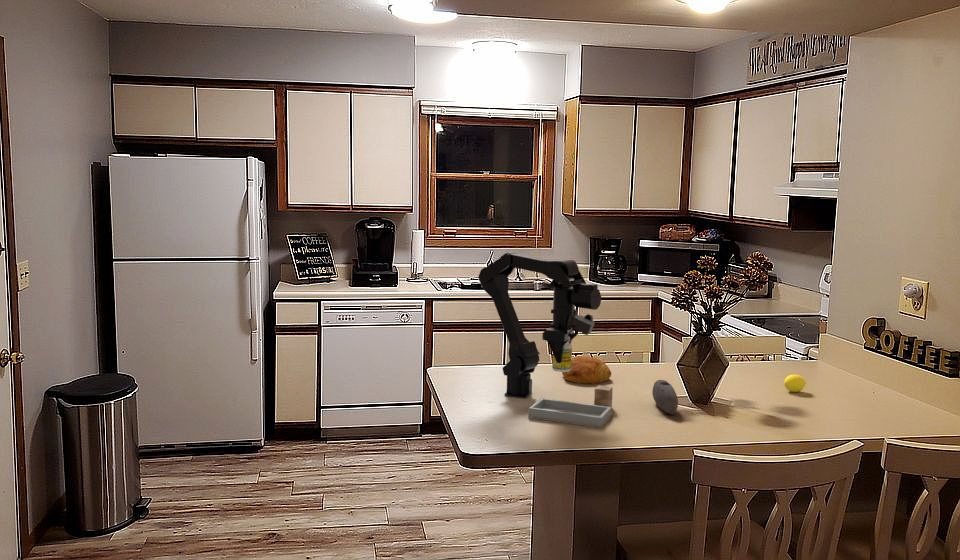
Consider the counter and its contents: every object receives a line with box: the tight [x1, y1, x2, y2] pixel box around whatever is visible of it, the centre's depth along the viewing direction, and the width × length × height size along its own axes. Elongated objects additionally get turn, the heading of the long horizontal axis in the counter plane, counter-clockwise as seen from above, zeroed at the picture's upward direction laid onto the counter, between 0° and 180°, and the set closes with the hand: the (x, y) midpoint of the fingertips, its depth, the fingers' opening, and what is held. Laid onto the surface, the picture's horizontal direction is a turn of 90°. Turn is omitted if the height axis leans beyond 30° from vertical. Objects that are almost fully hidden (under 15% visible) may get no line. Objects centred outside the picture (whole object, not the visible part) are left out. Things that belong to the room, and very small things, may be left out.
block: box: [593, 384, 613, 409], centre depth 221 cm, size 4×4×6 cm
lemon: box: [783, 374, 807, 393], centre depth 242 cm, size 7×5×5 cm
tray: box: [528, 397, 612, 429], centre depth 213 cm, size 20×11×3 cm, turn 67°
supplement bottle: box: [551, 336, 573, 373], centre depth 223 cm, size 5×5×10 cm
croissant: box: [561, 355, 612, 385], centre depth 253 cm, size 14×16×8 cm
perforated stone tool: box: [652, 379, 679, 415], centre depth 221 cm, size 15×5×7 cm, turn 0°
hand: (561, 360), depth 223 cm, fingers closed on supplement bottle, 5 cm apart
